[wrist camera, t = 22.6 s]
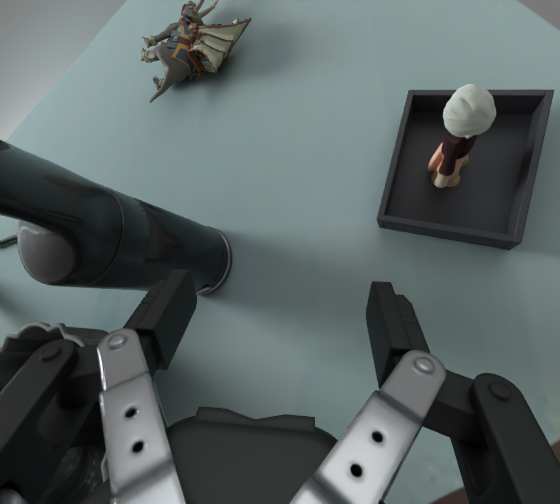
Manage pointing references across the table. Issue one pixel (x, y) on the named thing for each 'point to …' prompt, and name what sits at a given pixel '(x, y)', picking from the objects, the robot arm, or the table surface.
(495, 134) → the pan
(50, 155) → the table surface
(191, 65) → the figurine
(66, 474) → the bundt pan
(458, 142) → the grandmother figurine
